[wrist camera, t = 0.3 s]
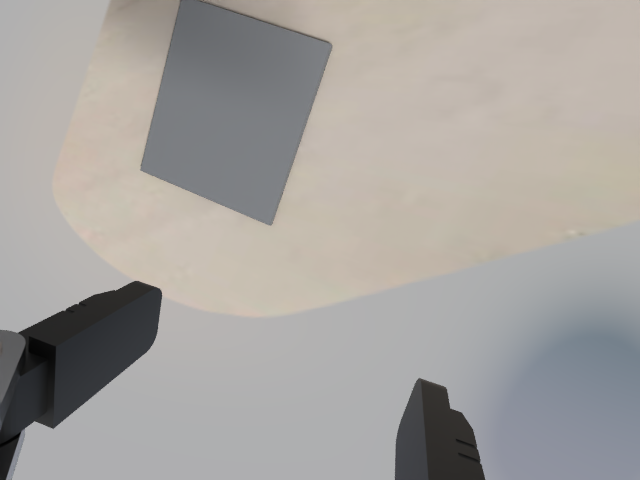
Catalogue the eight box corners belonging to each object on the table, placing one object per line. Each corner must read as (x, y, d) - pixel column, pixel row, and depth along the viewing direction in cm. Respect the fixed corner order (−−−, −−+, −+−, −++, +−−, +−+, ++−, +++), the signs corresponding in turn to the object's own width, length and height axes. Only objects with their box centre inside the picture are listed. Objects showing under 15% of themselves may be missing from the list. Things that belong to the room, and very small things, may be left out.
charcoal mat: (185, -2, 37) (182, -5, 37) (332, 46, 35) (331, 43, 34) (143, 170, 42) (140, 170, 41) (271, 224, 39) (269, 225, 38)
